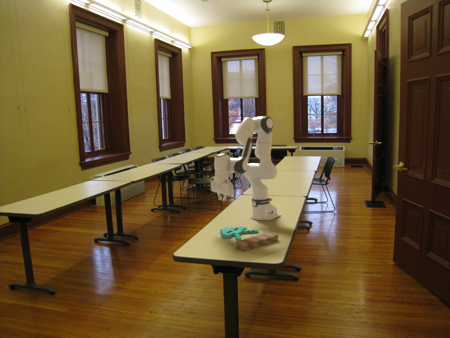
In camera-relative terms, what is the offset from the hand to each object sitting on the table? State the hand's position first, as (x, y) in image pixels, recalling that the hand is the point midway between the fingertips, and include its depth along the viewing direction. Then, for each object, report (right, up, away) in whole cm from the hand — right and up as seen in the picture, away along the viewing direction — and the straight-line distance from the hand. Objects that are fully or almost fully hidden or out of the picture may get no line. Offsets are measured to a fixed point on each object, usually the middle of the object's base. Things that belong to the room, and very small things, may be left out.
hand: (222, 200), depth 234 cm
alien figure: (+8, -21, -8) cm, 24 cm away
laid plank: (+20, -23, -27) cm, 41 cm away
